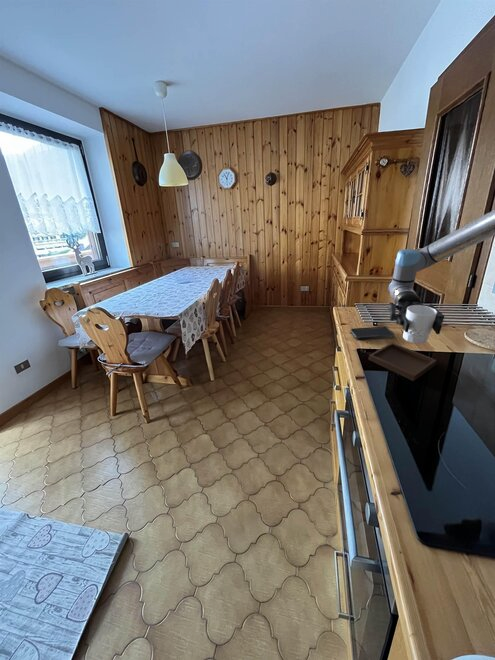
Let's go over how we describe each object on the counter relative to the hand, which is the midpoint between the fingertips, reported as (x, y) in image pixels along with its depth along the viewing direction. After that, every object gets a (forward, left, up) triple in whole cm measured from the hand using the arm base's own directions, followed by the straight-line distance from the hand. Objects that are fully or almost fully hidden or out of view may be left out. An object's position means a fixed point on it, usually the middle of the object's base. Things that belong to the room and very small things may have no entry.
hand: (423, 329), depth 83 cm
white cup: (+3, -4, -6) cm, 8 cm away
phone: (+24, -14, -16) cm, 32 cm away
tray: (+6, -4, -16) cm, 18 cm away
